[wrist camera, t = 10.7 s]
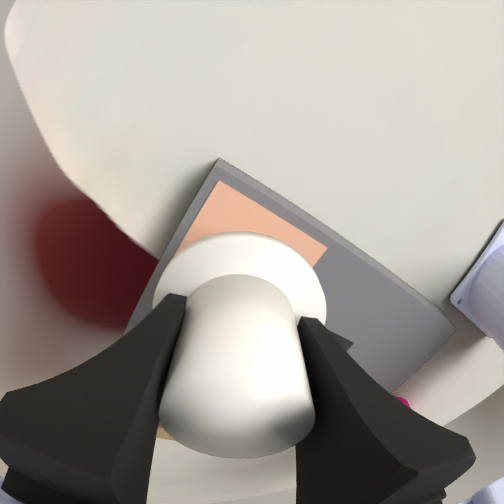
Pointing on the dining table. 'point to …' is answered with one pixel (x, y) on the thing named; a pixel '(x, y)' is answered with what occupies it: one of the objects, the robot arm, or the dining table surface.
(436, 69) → the dining table surface
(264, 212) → the socket block
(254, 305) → the plug
